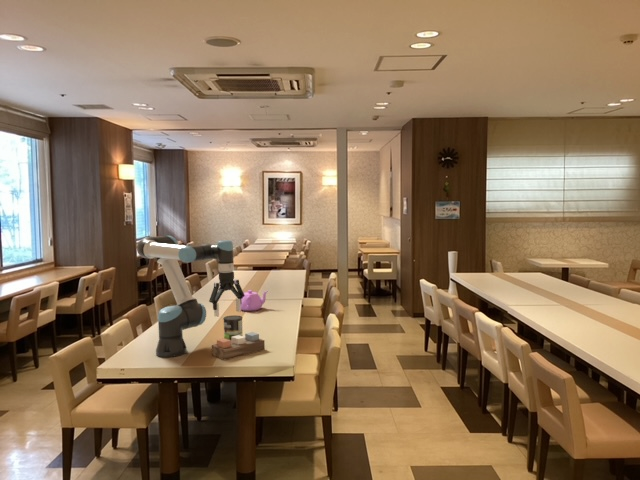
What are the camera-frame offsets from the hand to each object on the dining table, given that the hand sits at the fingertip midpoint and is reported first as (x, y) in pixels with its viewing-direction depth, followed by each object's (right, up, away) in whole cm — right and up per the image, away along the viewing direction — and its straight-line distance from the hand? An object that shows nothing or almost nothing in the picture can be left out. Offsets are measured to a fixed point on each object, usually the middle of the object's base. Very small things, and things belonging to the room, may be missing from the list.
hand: (227, 313), depth 251 cm
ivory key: (+4, -16, +6) cm, 17 cm away
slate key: (+11, -15, +11) cm, 22 cm away
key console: (+4, -21, +6) cm, 22 cm away
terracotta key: (-2, -16, 0) cm, 16 cm away
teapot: (-1, -13, +109) cm, 110 cm away
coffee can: (-1, -20, +24) cm, 31 cm away
